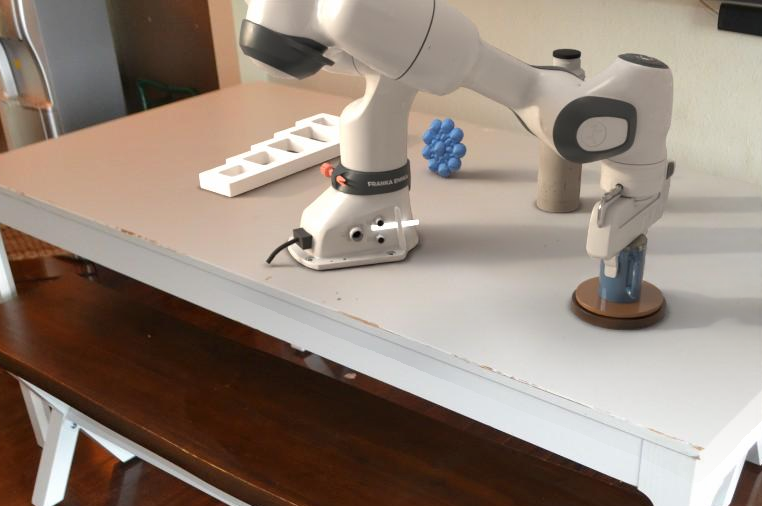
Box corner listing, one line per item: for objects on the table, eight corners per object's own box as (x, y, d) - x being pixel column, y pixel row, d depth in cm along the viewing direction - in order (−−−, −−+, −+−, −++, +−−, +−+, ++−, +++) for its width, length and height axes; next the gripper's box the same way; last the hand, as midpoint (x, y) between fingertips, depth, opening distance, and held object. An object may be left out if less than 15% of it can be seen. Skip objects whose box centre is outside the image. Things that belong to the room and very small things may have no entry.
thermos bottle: (580, 198, 187) (592, 46, 172) (577, 214, 180) (588, 57, 165) (539, 196, 188) (546, 44, 173) (534, 211, 182) (541, 55, 167)
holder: (231, 197, 188) (229, 183, 187) (169, 177, 197) (167, 164, 196) (382, 139, 218) (382, 127, 217) (323, 124, 228) (322, 113, 226)
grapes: (479, 178, 197) (480, 118, 190) (456, 186, 193) (456, 126, 186) (438, 164, 204) (438, 106, 197) (414, 172, 200) (414, 113, 193)
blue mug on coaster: (564, 283, 152) (568, 224, 147) (643, 276, 154) (650, 217, 149) (591, 321, 141) (597, 259, 136) (676, 313, 143) (685, 251, 138)
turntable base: (606, 338, 141) (607, 328, 140) (553, 299, 151) (554, 290, 150) (684, 317, 146) (685, 308, 145) (627, 281, 157) (628, 272, 156)
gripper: (622, 202, 129) (613, 297, 136) (680, 159, 143) (669, 247, 150) (578, 193, 132) (572, 286, 139) (640, 151, 146) (631, 238, 153)
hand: (623, 265), depth 145 cm, fingers closed on blue mug on coaster, 6 cm apart
